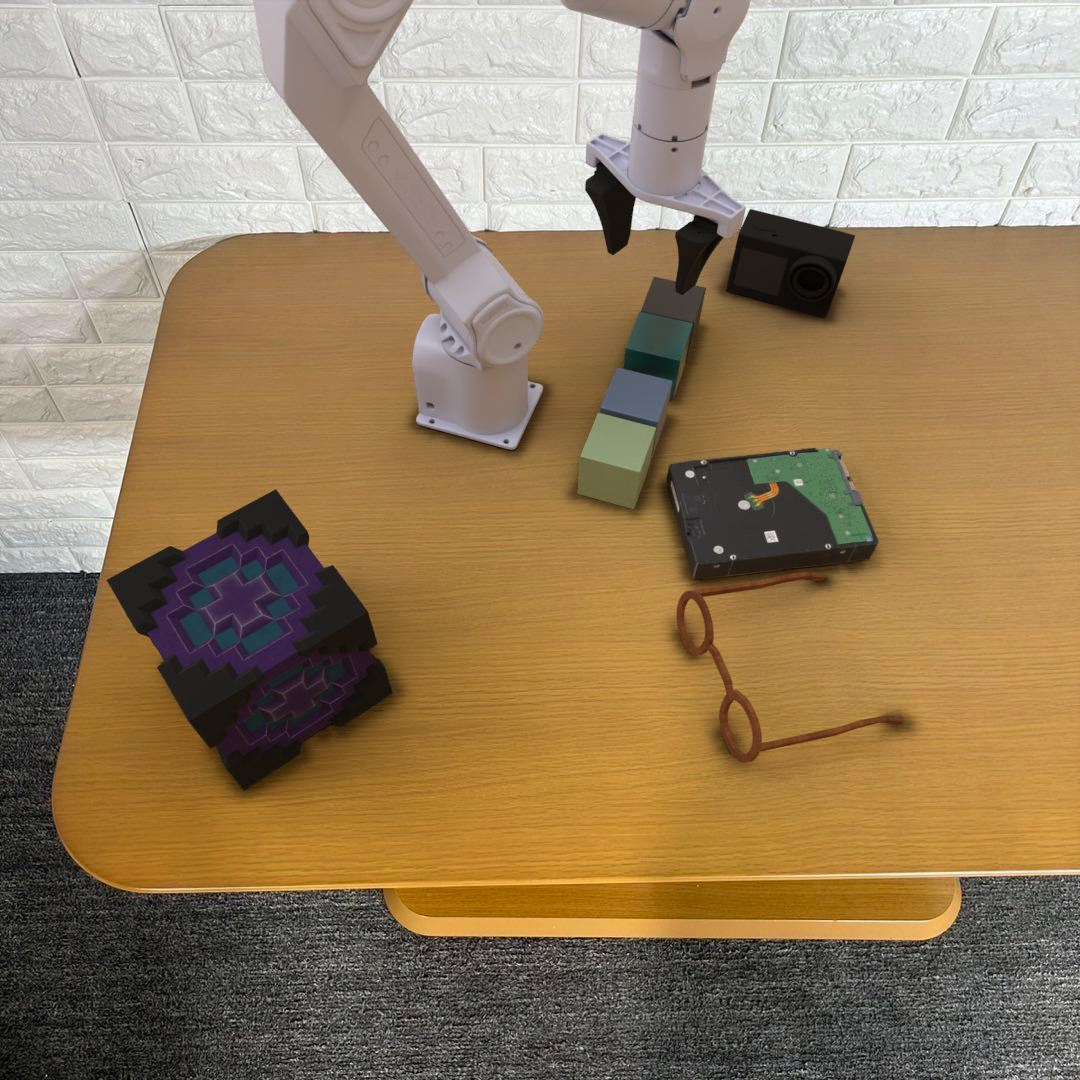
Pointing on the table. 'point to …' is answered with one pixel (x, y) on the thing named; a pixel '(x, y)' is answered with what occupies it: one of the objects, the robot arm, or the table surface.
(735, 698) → the glasses
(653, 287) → the charcoal block
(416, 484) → the table surface
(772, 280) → the digital camera
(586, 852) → the table surface
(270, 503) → the energy cube
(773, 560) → the disk drive
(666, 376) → the teal block
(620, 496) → the sage block
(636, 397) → the slate block
